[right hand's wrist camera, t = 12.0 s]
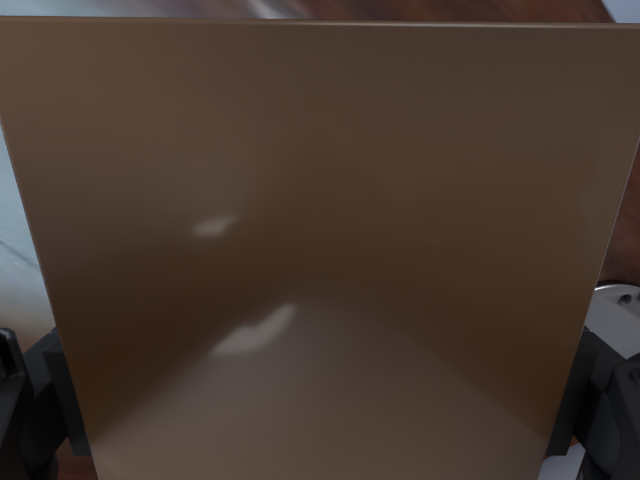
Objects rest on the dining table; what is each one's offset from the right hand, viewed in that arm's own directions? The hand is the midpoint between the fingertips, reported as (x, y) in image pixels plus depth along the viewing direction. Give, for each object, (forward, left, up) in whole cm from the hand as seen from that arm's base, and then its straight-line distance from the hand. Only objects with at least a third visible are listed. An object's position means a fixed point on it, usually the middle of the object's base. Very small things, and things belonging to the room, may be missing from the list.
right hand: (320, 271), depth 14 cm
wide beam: (-16, +18, 0) cm, 24 cm away
